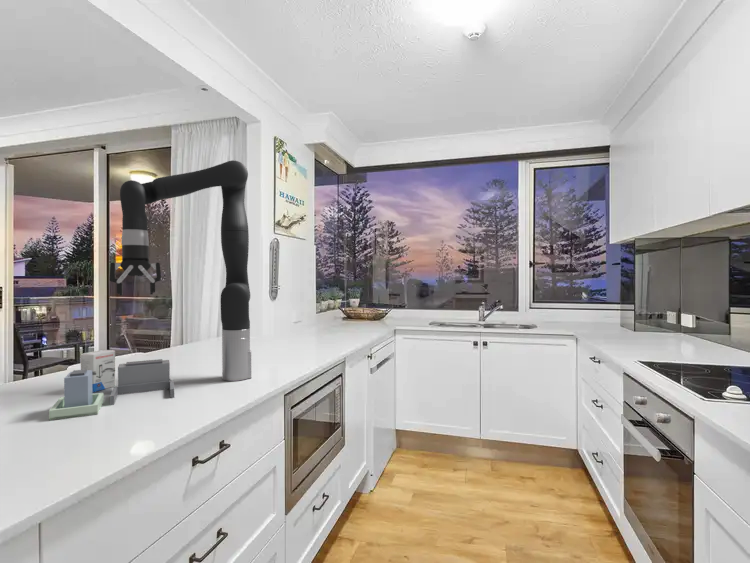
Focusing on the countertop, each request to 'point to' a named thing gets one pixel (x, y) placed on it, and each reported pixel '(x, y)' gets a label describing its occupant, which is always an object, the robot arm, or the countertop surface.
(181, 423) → the countertop surface
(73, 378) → the box with raised panel
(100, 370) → the ink box
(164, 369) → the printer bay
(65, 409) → the tray
